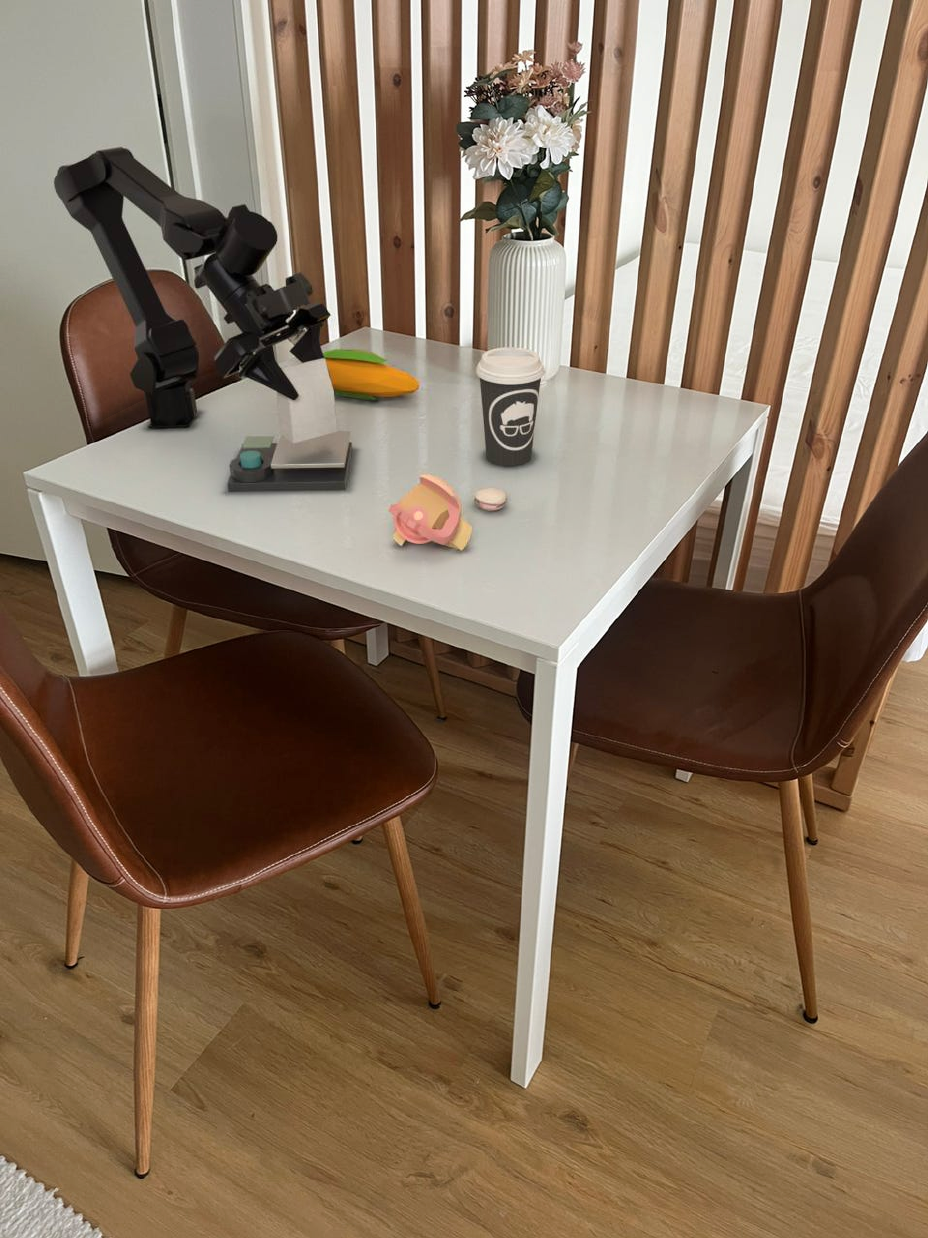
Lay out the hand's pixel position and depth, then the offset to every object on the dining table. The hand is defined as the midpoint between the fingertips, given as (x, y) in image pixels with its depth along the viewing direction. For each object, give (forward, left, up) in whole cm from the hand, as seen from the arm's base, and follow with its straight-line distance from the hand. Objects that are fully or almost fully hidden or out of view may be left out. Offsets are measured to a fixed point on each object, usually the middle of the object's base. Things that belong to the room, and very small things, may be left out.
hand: (312, 389), depth 135 cm
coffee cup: (+27, +4, -12) cm, 30 cm away
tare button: (-9, -3, -10) cm, 14 cm away
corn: (+5, +28, -12) cm, 31 cm away
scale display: (-9, +4, -9) cm, 13 cm away
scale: (-4, +1, -12) cm, 13 cm away
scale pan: (-1, +1, -9) cm, 9 cm away
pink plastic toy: (+16, -21, -12) cm, 29 cm away
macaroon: (+24, -11, -12) cm, 29 cm away
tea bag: (-1, +1, -7) cm, 7 cm away
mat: (+1, +40, -12) cm, 42 cm away
